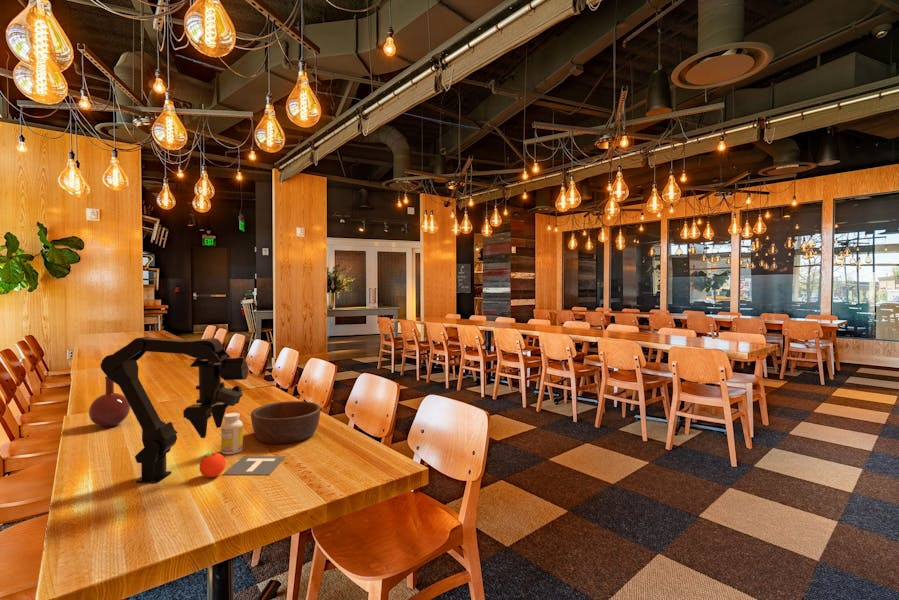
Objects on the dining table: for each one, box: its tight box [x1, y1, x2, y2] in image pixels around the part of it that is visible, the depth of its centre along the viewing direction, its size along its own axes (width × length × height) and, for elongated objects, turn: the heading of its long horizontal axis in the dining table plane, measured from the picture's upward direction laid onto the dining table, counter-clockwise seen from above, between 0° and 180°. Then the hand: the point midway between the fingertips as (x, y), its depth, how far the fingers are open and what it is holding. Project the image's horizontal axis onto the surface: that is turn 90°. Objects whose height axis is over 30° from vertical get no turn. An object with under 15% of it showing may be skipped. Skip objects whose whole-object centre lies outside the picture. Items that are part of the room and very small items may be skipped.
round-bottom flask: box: [88, 376, 131, 428], centre depth 173 cm, size 13×13×20 cm
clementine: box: [198, 452, 226, 478], centre depth 128 cm, size 8×7×7 cm
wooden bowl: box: [250, 400, 322, 445], centre depth 164 cm, size 25×25×10 cm
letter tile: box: [222, 455, 287, 476], centre depth 137 cm, size 14×14×1 cm
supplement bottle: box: [220, 412, 244, 455], centre depth 148 cm, size 7×7×13 cm
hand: (211, 432), depth 128 cm, fingers open, 9 cm apart
